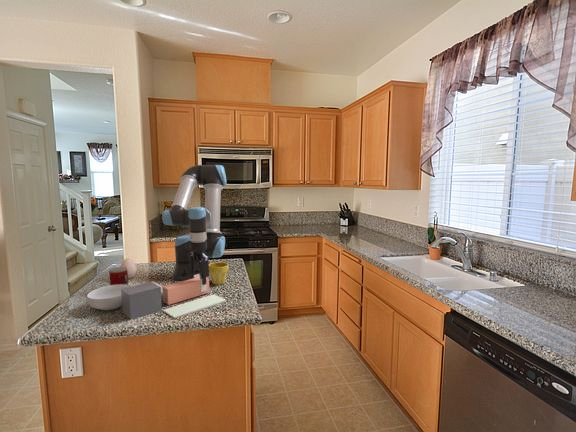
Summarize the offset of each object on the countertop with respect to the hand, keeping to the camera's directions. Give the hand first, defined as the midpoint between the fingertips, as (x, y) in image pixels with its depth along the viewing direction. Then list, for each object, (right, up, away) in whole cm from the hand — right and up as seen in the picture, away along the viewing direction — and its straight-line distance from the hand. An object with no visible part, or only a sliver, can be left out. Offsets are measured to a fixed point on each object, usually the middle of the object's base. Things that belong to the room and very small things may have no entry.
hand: (200, 289), depth 146 cm
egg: (-46, 0, +24) cm, 52 cm away
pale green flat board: (+2, -4, -14) cm, 14 cm away
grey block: (-18, -5, -19) cm, 27 cm away
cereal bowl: (-34, -4, -14) cm, 37 cm away
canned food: (-41, -2, +5) cm, 41 cm away
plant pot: (+5, -1, +17) cm, 17 cm away
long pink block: (-5, -2, -5) cm, 7 cm away
